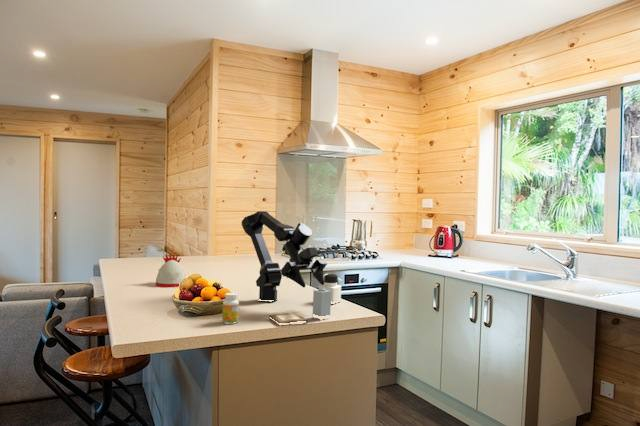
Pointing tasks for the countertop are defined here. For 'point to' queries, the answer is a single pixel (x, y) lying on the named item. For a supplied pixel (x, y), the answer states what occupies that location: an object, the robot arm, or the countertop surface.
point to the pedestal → (287, 318)
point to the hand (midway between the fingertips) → (314, 285)
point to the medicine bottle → (332, 286)
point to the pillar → (321, 302)
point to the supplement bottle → (230, 308)
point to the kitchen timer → (170, 273)
